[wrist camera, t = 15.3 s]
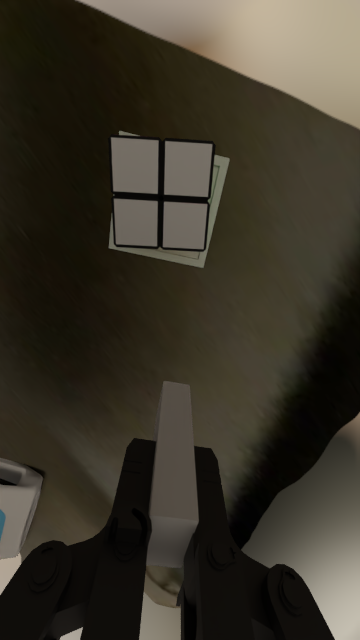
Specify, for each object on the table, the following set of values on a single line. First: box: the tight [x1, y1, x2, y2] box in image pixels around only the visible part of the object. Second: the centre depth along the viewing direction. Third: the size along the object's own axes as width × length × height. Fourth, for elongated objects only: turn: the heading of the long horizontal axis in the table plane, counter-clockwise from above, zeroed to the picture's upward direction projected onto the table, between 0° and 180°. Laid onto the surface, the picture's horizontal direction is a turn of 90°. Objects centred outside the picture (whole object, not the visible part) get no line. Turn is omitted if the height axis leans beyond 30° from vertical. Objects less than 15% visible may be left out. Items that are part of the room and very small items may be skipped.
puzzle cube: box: [108, 134, 216, 252], centre depth 28 cm, size 10×10×10 cm
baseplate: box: [109, 131, 230, 268], centre depth 32 cm, size 14×14×2 cm
